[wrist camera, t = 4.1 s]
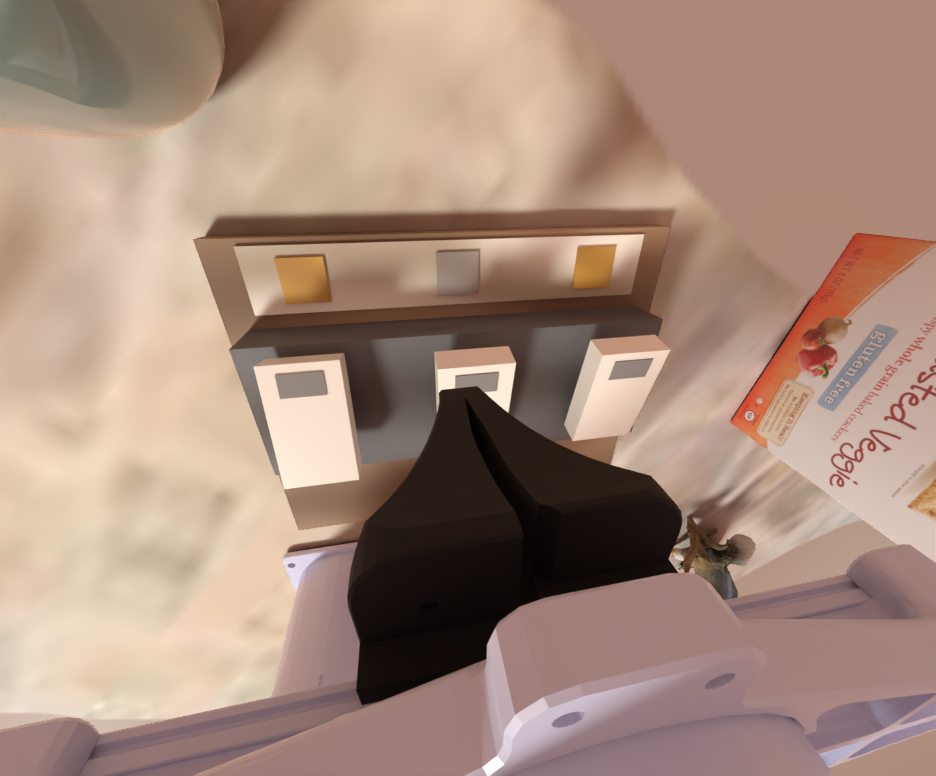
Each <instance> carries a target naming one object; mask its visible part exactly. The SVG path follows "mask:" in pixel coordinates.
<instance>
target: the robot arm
mask: <svg viewBox="0 0 936 776" xmlns="http://www.w3.org/2000/svg"><path fill="white" fill-rule="evenodd" d="M681 525H682V515H681V511H680V509H679V508H678V506H677V505H676V504H675V503H674V501H673V500H672V499H671V498H670V497H669V496H668V494H667V493H666V492H665V491H664V490H663V489H662V488H661V487H660V485H659V484H658V483H657V482H656V481H655V480H654V479H653V478H652V477H651V476H649V475H646V474H642V473H638V472H634V471H631V470H627V469H623V468H620V467H616V466H613V465H610V464H607V463H604V462H601V461H598V460H595V459H592V458H590V457H587V456H584V455H582V454H579V453H577V452H575V451H572V450H570V449H568V448H566V447H564V446H561V445H559V444H557V443H555V442H553V441H551V440H550V439H548V438H546V437H544V436H542V435H541V434H539V433H537V432H535V431H534V430H532V429H531V428H529V427H527V426H526V425H525V424H523V423H522V422H520V421H519V420H517V419H516V418H515V417H513V416H512V415H510V414H509V413H508V412H507V411H505V410H504V409H503V408H502V407H500V406H499V405H498V404H497V403H496V402H495V401H494V400H492V399H491V398H490V397H489V396H488V395H487V394H486V393H485V392H483V391H482V390H481V389H480V388H479V387H478V386H473V387H464V388H454V389H444V390H441V391H440V392H439V406H438V411H437V415H436V419H435V422H434V425H433V428H432V430H431V433H430V435H429V438H428V440H427V442H426V444H425V446H424V448H423V450H422V452H421V454H420V456H419V458H418V459H417V461H416V462H415V464H414V466H413V467H412V469H411V470H410V472H409V473H408V475H407V476H406V478H405V479H404V480H403V481H402V483H401V484H400V485H399V486H398V488H397V489H396V490H395V491H394V492H393V494H392V495H391V496H390V497H389V498H388V499H387V501H386V502H385V503H384V504H383V505H382V506H381V507H380V508H379V509H378V510H377V511H376V512H375V513H374V514H373V515H372V516H371V517H370V518H369V519H367V520H366V522H365V524H364V527H363V529H362V532H361V535H360V537H359V540H358V542H354V543H348V544H341V545H335V546H328V547H322V548H315V549H309V550H302V551H295V552H289V553H286V554H285V555H284V557H283V564H284V566H285V569H286V571H287V573H288V576H289V578H290V580H291V583H292V585H293V587H294V590H295V592H296V595H295V600H294V604H293V608H292V612H291V616H290V620H289V624H288V629H287V633H286V637H285V641H284V645H283V649H282V653H281V658H280V662H279V666H278V670H277V674H276V678H275V682H274V687H273V691H272V695H271V698H267V699H262V700H257V701H253V702H248V703H243V704H239V705H234V706H229V707H225V708H220V709H215V710H211V711H206V712H201V713H197V714H192V715H187V716H183V717H178V718H173V719H169V720H164V721H160V722H155V723H151V724H146V725H141V726H137V727H132V728H127V729H122V730H118V731H113V732H109V733H104V734H99V732H98V731H97V730H96V728H95V727H94V726H93V725H92V724H90V723H89V722H87V721H84V720H82V719H79V718H69V717H66V718H56V719H51V720H46V721H41V722H36V723H32V724H26V725H22V726H17V727H12V728H7V729H3V730H0V776H834V775H833V773H832V772H831V771H830V769H829V768H831V767H833V766H836V765H839V764H841V763H844V762H846V761H849V760H852V759H855V758H858V757H860V756H863V755H866V754H868V753H871V752H874V751H877V750H879V749H882V748H885V747H887V746H890V745H893V744H896V743H899V742H901V741H904V740H907V739H910V738H913V737H916V736H919V735H922V734H925V733H927V732H931V731H934V730H936V563H935V562H934V561H933V560H931V559H930V558H928V557H927V556H925V555H924V554H923V553H921V552H920V551H918V550H917V549H915V548H914V547H913V546H911V545H908V544H902V545H897V546H893V547H887V548H882V549H878V550H873V551H870V552H867V553H865V554H863V555H861V556H859V557H858V558H857V559H856V560H855V561H854V562H853V563H852V564H851V565H850V566H849V568H848V569H847V571H846V574H845V575H840V576H835V577H831V578H826V579H821V580H817V581H813V582H807V583H803V584H798V585H793V586H789V587H784V588H780V589H775V590H770V591H766V592H761V593H757V594H752V595H747V596H742V597H737V598H733V599H728V600H723V599H722V598H721V596H720V595H719V594H718V592H717V591H716V590H715V589H714V587H713V586H712V585H711V584H710V583H709V582H708V581H706V580H705V579H704V578H702V577H701V576H699V575H697V574H693V573H678V572H677V570H676V569H675V568H674V566H673V565H672V564H671V562H670V561H669V556H670V554H671V552H672V549H673V547H674V545H675V542H676V540H677V538H678V535H679V532H680V529H681Z"/></svg>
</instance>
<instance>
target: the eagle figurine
mask: <svg viewBox="0 0 936 776" xmlns="http://www.w3.org/2000/svg"><path fill="white" fill-rule="evenodd" d="M687 519H688V520H687V525H688V526H687V530H688V531H687V533H688V535H689V538H690V544H691V546H690V547H687V548H683V549H678V548H675V549H672V552H671V554H670V555H671V557H673V558H676V559H679V560H681V561H683V566H682V567H680V568H679V570H681V569H684V572H685V573H689V571H690V568H694V570H695V574H697V575H699V576H701V577H702V578H704V579H705V580H706V581H708V582H709V583H710V584H711V585H712V586H713V587H714V589H715V590H716V591H717V592H718V594H719V595H720V596H721V598H722V599H723V600H728V599H733V598H737V597H738V592H737V589H736V587H735V585H734V582H733V580H732V578H731V576H730V572H729V571H728V569H727V566H728V565H729V564H735V565H739V566H745V565H747V563H748V562H749V561H750V560H751V558H752V556H753V553H754V551H755V543H754V542H753V541H752V539H751V538H750V537H747V536H744V535H740V534H736V535H734V536H733V537H732V538H731V539H730V540H728V539H727V543H726V544H725V545H720V544H717V543H715V542H713V541H712V540H710V539H709V538H708V536H709V535H713V534H715V533H716V532H717V529H716V528H712V529H710V530H709V531H701V530H700V529H699V527H698V526H697V525H696V524H695V522H694V521H693V519H692V517H690V516H688V517H687Z"/></svg>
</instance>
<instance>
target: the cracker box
mask: <svg viewBox="0 0 936 776" xmlns="http://www.w3.org/2000/svg"><path fill="white" fill-rule="evenodd" d="M731 423H732V424H733V425H734V426H736V427H737V428H738V429H740V430H741V431H743V432H744V433H745V434H747V435H748V436H750V437H751V438H752V439H753V440H755V441H756V442H757V443H758V444H760V445H761V446H763V447H764V448H765V449H767V450H768V451H770V452H771V453H772V454H774V455H775V456H777V457H778V458H779V459H781V460H782V461H784V462H785V463H786V464H788V465H789V466H791V467H792V468H793V469H795V470H796V471H797V472H799V473H800V474H802V475H803V476H804V477H806V478H807V479H808V480H810V481H811V482H812V483H814V484H815V485H817V486H818V487H819V488H821V489H822V490H824V491H825V492H826V493H828V494H829V495H830V496H832V497H833V498H834V499H836V500H837V501H838V502H840V503H841V504H843V505H844V506H845V507H847V508H848V509H849V510H851V511H852V512H853V513H855V514H856V515H858V516H859V517H860V518H862V519H863V520H864V521H866V522H867V523H869V524H870V525H871V526H873V527H874V528H875V529H877V530H878V531H880V532H881V533H882V534H884V535H885V536H886V537H888V538H889V539H891V540H892V541H893V542H895V543H896V544H898V545H902V544H908V545H911V546H913V547H914V548H915V549H917V550H918V551H920V552H921V553H923V554H924V555H925V556H927V557H928V558H930V559H931V560H933V561H934V562H935V563H936V242H933V241H924V240H916V239H908V238H899V237H891V236H882V235H872V234H862V233H857V234H855V235H854V236H853V237H852V239H851V241H850V242H849V244H848V245H847V247H846V249H845V250H844V251H843V253H842V254H841V256H840V258H839V259H838V261H837V262H836V264H835V265H834V267H833V268H832V270H831V271H830V273H829V274H828V276H827V277H826V279H825V280H824V282H823V283H822V285H821V287H820V288H819V289H818V291H817V292H816V294H815V295H814V297H813V298H812V300H811V301H810V303H809V304H808V306H807V307H806V309H805V310H804V312H803V313H802V315H801V316H800V318H799V319H798V321H797V322H796V324H795V325H794V327H793V328H792V330H791V331H790V333H789V335H788V336H787V338H786V339H785V341H784V342H783V344H782V345H781V347H780V348H779V349H778V351H777V352H776V354H775V356H774V357H773V359H772V360H771V362H770V363H769V365H768V366H767V368H766V369H765V371H764V372H763V374H762V375H761V377H760V378H759V380H758V381H757V383H756V384H755V386H754V387H753V389H752V390H751V392H750V393H749V395H748V396H747V398H746V399H745V401H744V402H743V404H742V405H741V407H740V408H739V410H738V411H737V413H736V414H735V416H734V417H733V418H732V420H731Z"/></svg>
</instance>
